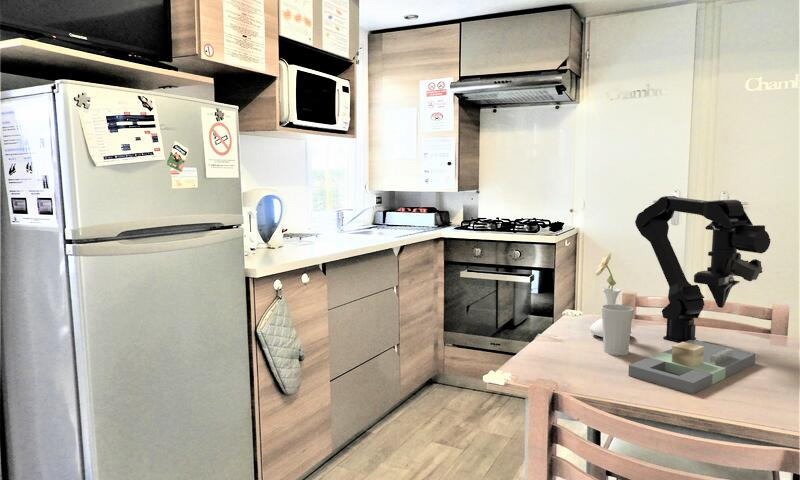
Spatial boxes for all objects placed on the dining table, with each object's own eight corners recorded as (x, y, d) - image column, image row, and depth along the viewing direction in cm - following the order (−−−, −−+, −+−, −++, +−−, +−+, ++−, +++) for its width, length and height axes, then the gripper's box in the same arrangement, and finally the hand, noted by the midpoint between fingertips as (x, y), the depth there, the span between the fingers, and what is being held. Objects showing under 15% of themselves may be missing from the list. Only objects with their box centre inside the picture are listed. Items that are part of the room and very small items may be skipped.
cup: (636, 351, 156) (638, 307, 155) (624, 358, 150) (626, 312, 149) (607, 345, 161) (609, 302, 160) (594, 352, 156) (596, 307, 154)
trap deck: (628, 375, 138) (628, 365, 138) (694, 349, 157) (694, 340, 157) (692, 394, 126) (693, 383, 126) (755, 363, 146) (755, 353, 145)
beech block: (671, 361, 140) (672, 345, 139) (682, 357, 143) (682, 341, 142) (693, 367, 136) (693, 350, 135) (703, 362, 139) (704, 346, 138)
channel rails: (671, 354, 145) (672, 346, 145) (689, 347, 151) (689, 339, 150) (715, 365, 137) (715, 356, 137) (732, 357, 143) (732, 349, 142)
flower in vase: (596, 328, 178) (599, 247, 175) (635, 334, 172) (639, 250, 169) (582, 339, 168) (584, 252, 165) (623, 345, 161) (626, 255, 158)
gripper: (740, 255, 140) (736, 319, 142) (773, 248, 151) (769, 307, 153) (694, 250, 149) (690, 310, 151) (728, 244, 160) (725, 300, 162)
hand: (720, 307), depth 154 cm, fingers closed
